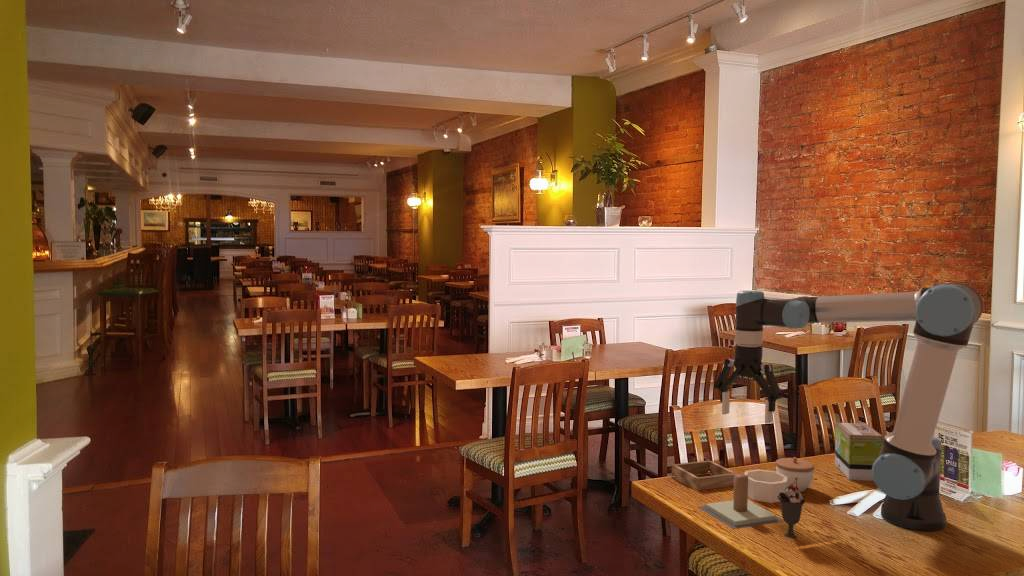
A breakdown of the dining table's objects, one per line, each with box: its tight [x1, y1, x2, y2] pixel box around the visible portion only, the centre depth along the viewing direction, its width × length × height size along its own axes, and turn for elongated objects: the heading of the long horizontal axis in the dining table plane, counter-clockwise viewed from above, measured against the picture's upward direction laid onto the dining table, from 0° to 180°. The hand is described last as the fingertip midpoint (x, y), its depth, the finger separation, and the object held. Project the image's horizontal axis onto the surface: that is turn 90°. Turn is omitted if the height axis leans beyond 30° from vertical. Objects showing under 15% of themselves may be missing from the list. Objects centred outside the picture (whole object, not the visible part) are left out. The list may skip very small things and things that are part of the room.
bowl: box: [743, 468, 788, 504], centre depth 208 cm, size 12×12×6 cm
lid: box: [705, 473, 777, 526], centre depth 193 cm, size 13×13×10 cm
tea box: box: [834, 422, 884, 482], centre depth 229 cm, size 15×10×15 cm, turn 172°
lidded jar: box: [775, 456, 815, 493], centre depth 215 cm, size 11×11×9 cm
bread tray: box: [671, 460, 738, 491], centre depth 220 cm, size 14×14×4 cm
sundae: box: [778, 478, 807, 539], centre depth 179 cm, size 7×7×15 cm
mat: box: [697, 505, 785, 530], centre depth 193 cm, size 16×16×1 cm
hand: (746, 418), depth 206 cm, fingers open, 13 cm apart
